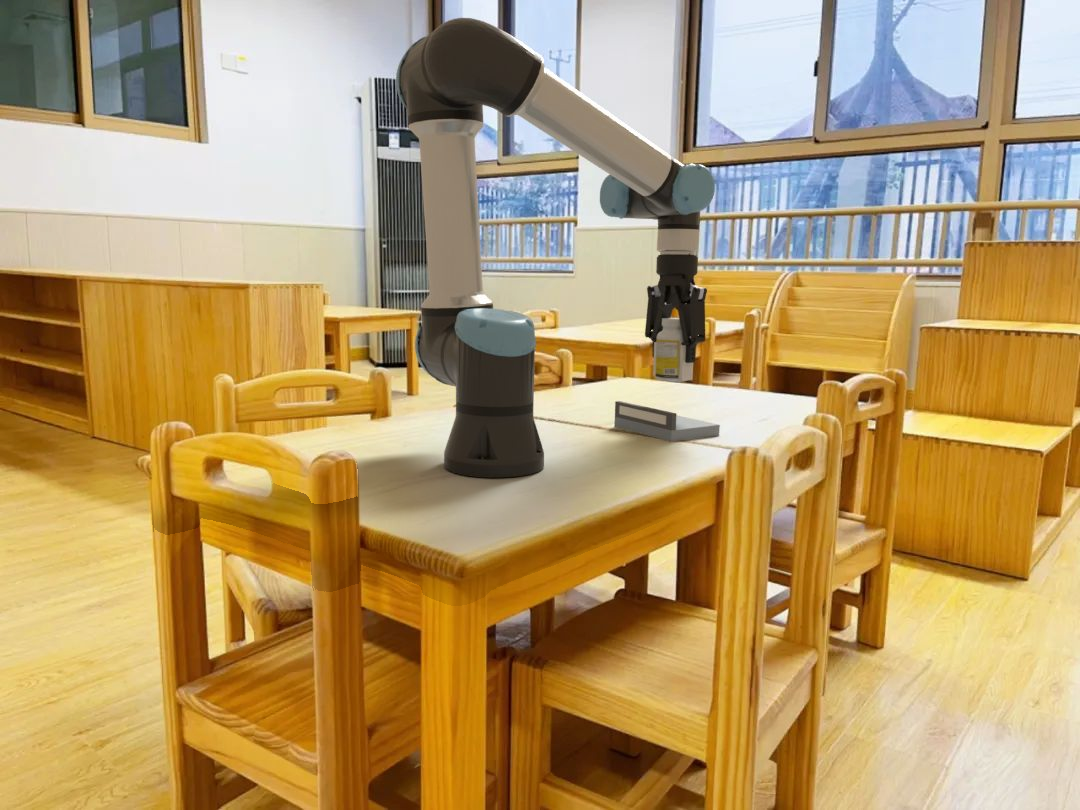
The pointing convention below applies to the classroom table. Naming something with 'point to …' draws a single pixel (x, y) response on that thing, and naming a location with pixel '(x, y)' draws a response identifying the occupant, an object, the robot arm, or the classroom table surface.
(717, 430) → the grey piece
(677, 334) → the pill bottle
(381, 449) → the classroom table surface
